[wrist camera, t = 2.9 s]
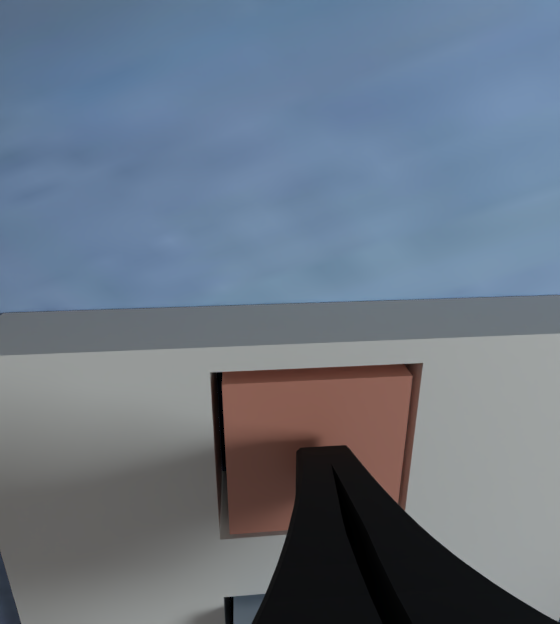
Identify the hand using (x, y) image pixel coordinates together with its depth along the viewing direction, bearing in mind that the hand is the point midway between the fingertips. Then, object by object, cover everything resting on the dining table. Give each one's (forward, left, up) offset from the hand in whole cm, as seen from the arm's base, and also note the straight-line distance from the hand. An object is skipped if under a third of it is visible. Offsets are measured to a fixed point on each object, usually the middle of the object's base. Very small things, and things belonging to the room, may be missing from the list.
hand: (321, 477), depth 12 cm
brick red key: (0, 0, -4) cm, 4 cm away
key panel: (-4, 0, -4) cm, 5 cm away
